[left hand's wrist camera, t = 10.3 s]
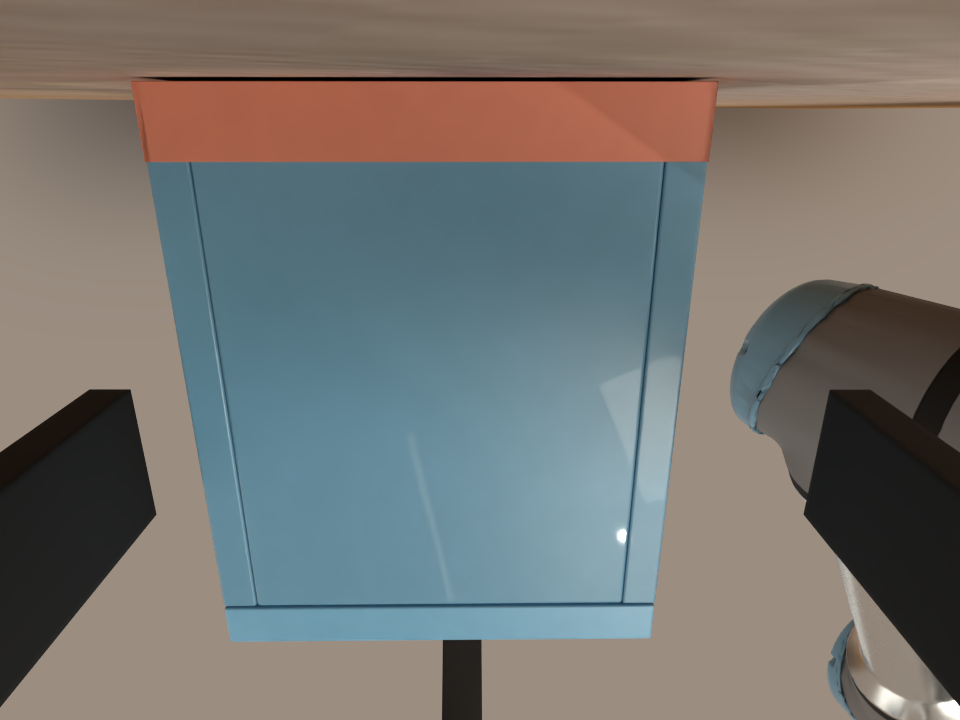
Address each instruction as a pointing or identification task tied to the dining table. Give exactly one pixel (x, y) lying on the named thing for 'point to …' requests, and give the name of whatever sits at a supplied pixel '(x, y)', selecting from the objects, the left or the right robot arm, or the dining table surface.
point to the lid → (439, 621)
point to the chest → (431, 329)
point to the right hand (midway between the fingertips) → (458, 611)
